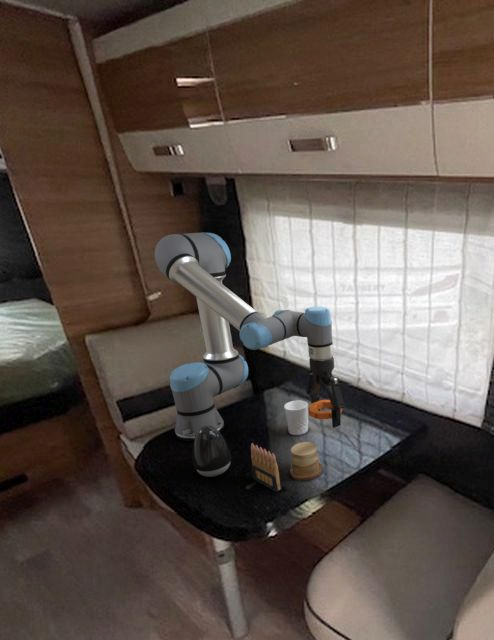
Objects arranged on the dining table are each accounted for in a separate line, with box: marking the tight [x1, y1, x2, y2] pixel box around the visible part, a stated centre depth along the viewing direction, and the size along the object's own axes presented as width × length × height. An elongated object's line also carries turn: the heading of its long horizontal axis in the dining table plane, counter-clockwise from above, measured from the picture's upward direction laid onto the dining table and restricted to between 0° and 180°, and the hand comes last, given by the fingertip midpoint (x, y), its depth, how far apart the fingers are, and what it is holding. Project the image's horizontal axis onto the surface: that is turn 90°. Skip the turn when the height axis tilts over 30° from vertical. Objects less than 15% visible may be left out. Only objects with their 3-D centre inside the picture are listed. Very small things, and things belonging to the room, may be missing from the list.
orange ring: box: [308, 399, 343, 420], centre depth 136 cm, size 10×10×2 cm
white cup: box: [283, 399, 309, 436], centre depth 145 cm, size 8×8×10 cm
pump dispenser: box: [192, 425, 232, 478], centre depth 121 cm, size 10×10×15 cm
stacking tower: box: [289, 441, 323, 482], centre depth 123 cm, size 9×9×8 cm
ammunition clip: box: [250, 442, 283, 493], centre depth 117 cm, size 11×2×12 cm, turn 56°
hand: (326, 420), depth 138 cm, fingers closed on orange ring, 10 cm apart
